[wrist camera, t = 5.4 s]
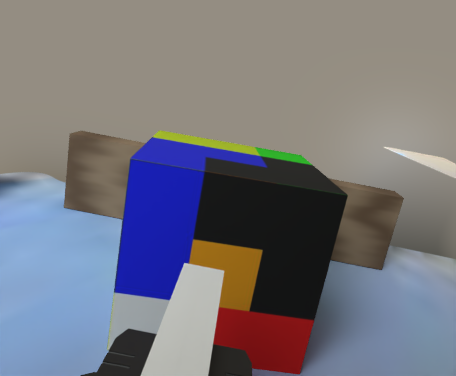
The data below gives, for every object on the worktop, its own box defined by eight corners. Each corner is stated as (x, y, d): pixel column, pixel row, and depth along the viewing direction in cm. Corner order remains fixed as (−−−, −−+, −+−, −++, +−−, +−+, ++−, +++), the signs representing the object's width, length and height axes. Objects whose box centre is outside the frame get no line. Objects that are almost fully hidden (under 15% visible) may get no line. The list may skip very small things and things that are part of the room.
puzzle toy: (106, 351, 20) (130, 158, 17) (141, 262, 29) (159, 130, 27) (299, 375, 21) (348, 195, 18) (271, 281, 30) (300, 155, 28)
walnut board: (373, 258, 38) (394, 191, 37) (381, 269, 36) (403, 198, 34) (75, 200, 39) (81, 130, 37) (64, 207, 37) (69, 133, 35)
